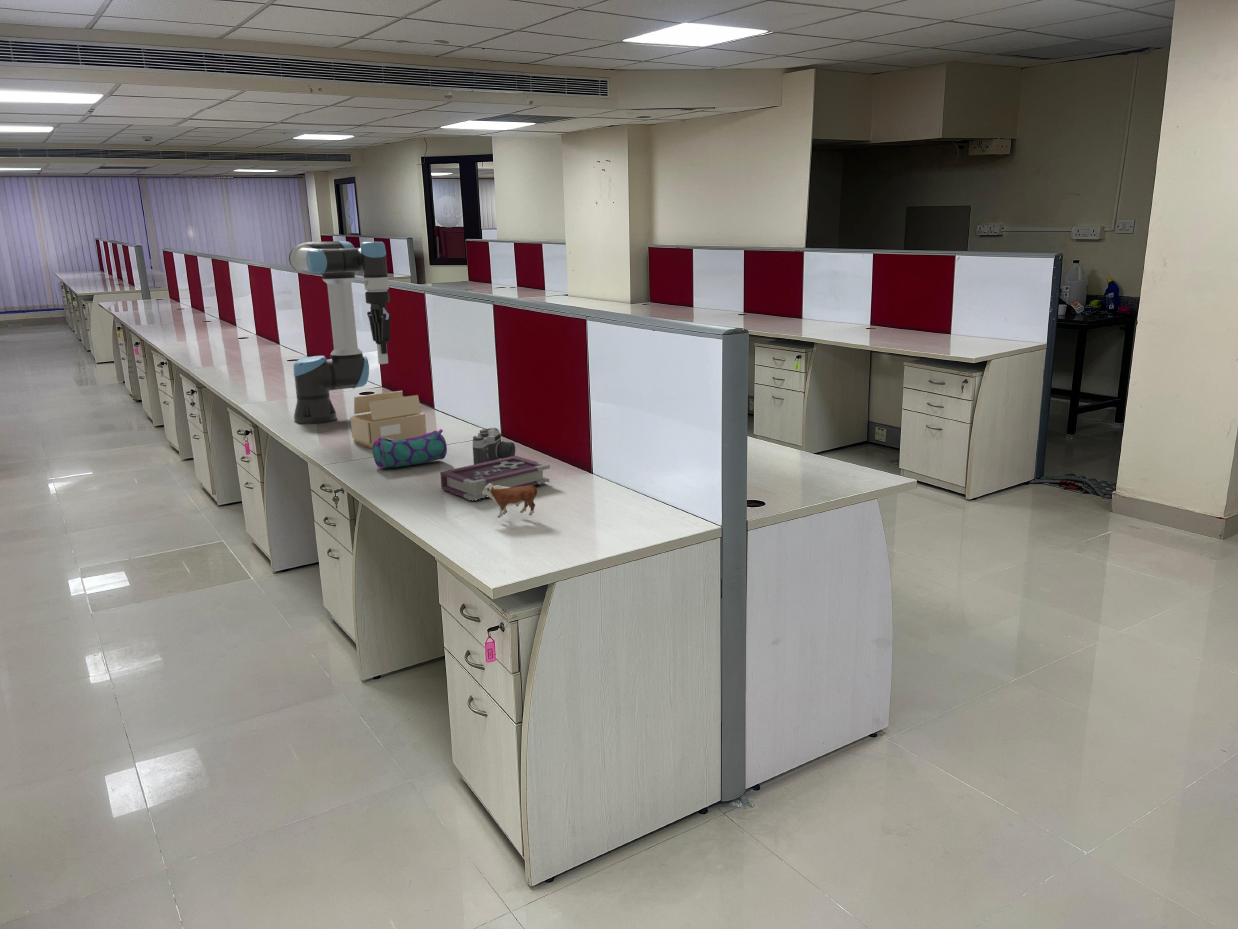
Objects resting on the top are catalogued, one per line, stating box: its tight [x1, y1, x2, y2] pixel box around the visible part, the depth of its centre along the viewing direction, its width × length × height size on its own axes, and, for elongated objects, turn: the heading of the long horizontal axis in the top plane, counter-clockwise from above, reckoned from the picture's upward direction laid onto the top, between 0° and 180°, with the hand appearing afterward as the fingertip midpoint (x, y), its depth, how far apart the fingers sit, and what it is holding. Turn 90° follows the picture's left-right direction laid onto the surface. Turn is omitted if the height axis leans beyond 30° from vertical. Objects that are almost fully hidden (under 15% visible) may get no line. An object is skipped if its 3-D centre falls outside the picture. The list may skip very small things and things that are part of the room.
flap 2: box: [369, 394, 422, 420], centre depth 291 cm, size 1×17×6 cm, turn 130°
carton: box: [350, 412, 427, 450], centre depth 297 cm, size 15×21×9 cm
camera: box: [472, 426, 516, 465], centre depth 267 cm, size 16×10×10 cm, turn 167°
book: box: [439, 455, 551, 502], centre depth 245 cm, size 25×16×5 cm, turn 132°
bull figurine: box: [482, 483, 538, 519], centre depth 217 cm, size 4×13×8 cm, turn 95°
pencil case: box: [371, 428, 448, 470], centre depth 267 cm, size 21×9×10 cm, turn 122°
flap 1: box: [353, 390, 403, 415], centre depth 300 cm, size 1×17×6 cm, turn 129°
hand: (383, 363), depth 292 cm, fingers closed
